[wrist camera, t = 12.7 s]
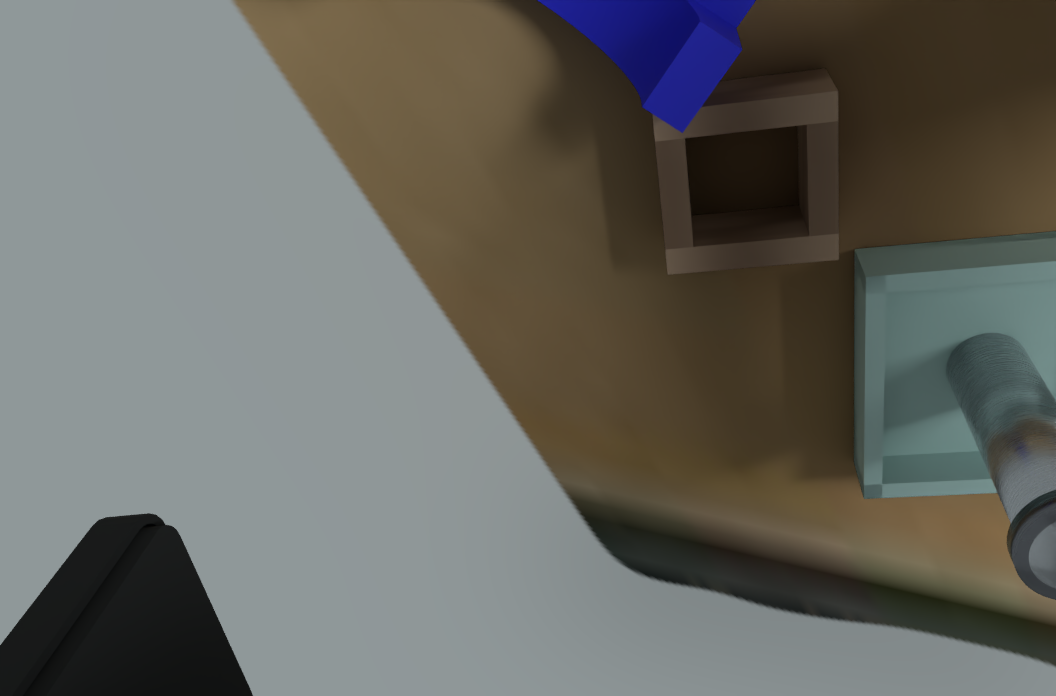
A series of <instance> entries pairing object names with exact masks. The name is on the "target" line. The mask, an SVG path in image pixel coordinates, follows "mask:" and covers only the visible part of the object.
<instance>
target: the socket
mask: <svg viewBox="0 0 1056 696" xmlns="http://www.w3.org/2000/svg"><path fill="white" fill-rule="evenodd" d="M652 116H653V127H654V137H655V148H656V158H657V169H658V179H659V190H660V200H661V211H662V221H663V231H664V242H665V252H666V263H667V273H668V275H672V274H683V273H694V272H706V271H717V270H729V269H740V268H752V267H763V266H775V265H786V264H797V263H809V262H820V261H832V260H839V157H838V90H837V88H836V86H835V84H834V83H833V81H832V79H831V77H830V76H829V74H828V72H827V70H826V69H816V70H808V71H800V72H792V73H784V74H775V75H767V76H759V77H751V78H743V79H734V80H726V81H719V83H718V84H717V86H716V87H715V88H714V90H713V91H712V93H711V94H710V95H709V97H708V98H707V100H706V101H705V102H704V104H703V105H702V107H701V108H700V109H699V111H698V112H697V114H696V115H695V116H694V118H693V119H692V121H691V122H690V123H689V125H688V126H687V128H686V129H685V130H684V132H683V133H681V132H680V131H678V130H677V129H675V128H674V127H672V126H670V125H669V124H667V123H666V122H664V121H663V120H661V119H660V118H658V117H657V116H655V115H654V114H652ZM790 126H797V133H798V173H799V205H797V206H787V207H776V208H766V209H756V210H746V211H735V212H725V213H715V214H705V215H694V216H692V213H691V200H690V188H689V176H688V163H687V151H686V138H692V137H701V136H710V135H719V134H728V133H736V132H745V131H754V130H763V129H772V128H781V127H790Z"/></svg>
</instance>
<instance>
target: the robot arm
mask: <svg viewBox="0 0 1056 696" xmlns="http://www.w3.org/2000/svg"><path fill="white" fill-rule="evenodd" d="M0 696H253V695H252V692H251V690H250V688H249V685H248V683H247V681H246V679H245V677H244V675H243V672H242V670H241V668H240V666H239V664H238V661H237V659H236V657H235V655H234V653H233V650H232V648H231V646H230V644H229V642H228V640H227V637H226V635H225V633H224V631H223V628H222V626H221V624H220V622H219V620H218V618H217V615H216V613H215V611H214V609H213V607H212V604H211V602H210V600H209V598H208V596H207V593H206V591H205V589H204V587H203V585H202V583H201V580H200V578H199V576H198V574H197V572H196V569H195V567H194V565H193V563H192V561H191V558H190V556H189V554H188V552H187V550H186V547H185V545H184V543H183V541H182V539H181V537H180V535H179V533H178V531H177V530H176V529H175V528H174V527H172V526H169V525H165V524H164V522H163V520H162V519H161V518H159V517H158V516H157V515H154V514H139V515H128V516H117V517H106V518H104V519H101V520H98V521H97V522H96V523H95V524H94V525H93V526H92V527H91V528H90V530H89V531H88V532H87V534H86V535H85V536H84V538H83V539H82V540H81V541H80V543H79V544H78V545H77V547H76V548H75V549H74V551H73V552H72V553H71V554H70V556H69V557H68V558H67V560H66V561H65V562H64V563H63V565H62V566H61V568H60V569H59V570H58V571H57V573H56V574H55V575H54V577H53V578H52V579H51V580H50V582H49V583H48V584H47V585H46V587H45V588H44V589H43V591H42V592H41V593H40V595H39V596H38V597H37V599H36V600H35V601H34V602H33V604H32V605H31V606H30V607H29V609H28V610H27V611H26V613H25V614H24V615H23V617H22V618H21V619H20V620H19V622H18V623H17V624H16V626H15V627H14V628H13V630H12V631H11V632H10V634H9V635H8V636H7V637H6V639H5V640H4V641H3V643H2V644H1V645H0Z"/></svg>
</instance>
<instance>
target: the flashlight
mask: <svg viewBox="0 0 1056 696" xmlns="http://www.w3.org/2000/svg"><path fill="white" fill-rule="evenodd" d="M946 375H947V379H948V381H949V384H950V386H951V388H952V390H953V393H954V395H955V397H956V400H957V402H958V404H959V406H960V409H961V411H962V413H963V415H964V418H965V420H966V422H967V425H968V427H969V429H970V431H971V434H972V436H973V438H974V440H975V443H976V445H977V447H978V450H979V452H980V454H981V456H982V459H983V461H984V463H985V465H986V468H987V470H988V472H989V475H990V477H991V479H992V481H993V484H994V486H995V488H996V490H997V493H998V495H999V497H1000V500H1001V502H1002V504H1003V506H1004V509H1005V511H1006V513H1007V515H1008V518H1009V520H1010V522H1011V525H1010V527H1009V530H1008V534H1007V547H1008V551H1009V554H1010V557H1011V559H1012V561H1013V564H1014V566H1015V568H1016V571H1017V573H1018V575H1019V577H1020V578H1021V580H1022V581H1023V582H1024V583H1025V584H1026V585H1027V586H1028V587H1029V588H1030V589H1032V590H1033V591H1035V592H1036V593H1038V594H1041V595H1043V596H1045V597H1048V598H1051V599H1055V600H1056V400H1055V398H1054V397H1053V395H1052V393H1051V392H1050V390H1049V388H1048V387H1047V385H1046V383H1045V382H1044V380H1043V378H1042V377H1041V375H1040V373H1039V372H1038V370H1037V369H1036V367H1035V365H1034V364H1033V362H1032V360H1031V359H1030V357H1029V355H1028V354H1027V352H1026V350H1025V349H1024V347H1023V346H1022V345H1021V344H1020V343H1019V342H1018V341H1017V340H1016V339H1014V338H1012V337H1010V336H1008V335H1005V334H1000V333H985V334H980V335H976V336H973V337H971V338H969V339H967V340H965V341H964V342H962V343H961V344H960V345H959V346H957V347H956V348H955V350H954V351H953V352H952V353H951V355H950V357H949V359H948V362H947V366H946Z"/></svg>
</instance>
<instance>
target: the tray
mask: <svg viewBox="0 0 1056 696" xmlns="http://www.w3.org/2000/svg"><path fill="white" fill-rule="evenodd" d="M985 333H1000V334H1005V335H1008V336H1010V337H1012V338H1014V339H1016V340H1017V341H1018V342H1019V343H1020V344H1021V345H1022V346H1023V347H1024V349H1025V350H1026V352H1027V354H1028V355H1029V357H1030V359H1031V360H1032V362H1033V364H1034V365H1035V367H1036V369H1037V370H1038V372H1039V373H1040V375H1041V377H1042V378H1043V380H1044V382H1045V383H1046V385H1047V387H1048V388H1049V390H1050V392H1051V393H1052V395H1053V397H1054V398H1055V400H1056V231H1052V232H1041V233H1030V234H1019V235H1007V236H996V237H985V238H974V239H963V240H951V241H940V242H929V243H918V244H906V245H895V246H884V247H873V248H861V249H855V275H854V465H855V468H856V472H857V476H858V479H859V483H860V486H861V490H862V494H863V497H864V499H870V498H892V497H915V496H937V495H960V494H982V493H997V490H996V488H995V486H994V484H993V481H992V479H991V477H990V475H989V472H988V470H987V468H986V465H985V463H984V461H983V459H982V456H981V454H980V452H979V450H978V447H977V445H976V443H975V440H974V438H973V436H972V434H971V431H970V429H969V427H968V425H967V422H966V420H965V418H964V415H963V413H962V411H961V409H960V406H959V404H958V402H957V400H956V397H955V395H954V393H953V390H952V388H951V386H950V384H949V381H948V379H947V375H946V366H947V362H948V359H949V357H950V355H951V353H952V352H953V351H954V350H955V348H956V347H957V346H959V345H960V344H961V343H962V342H964V341H965V340H967V339H969V338H971V337H973V336H976V335H980V334H985Z"/></svg>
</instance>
